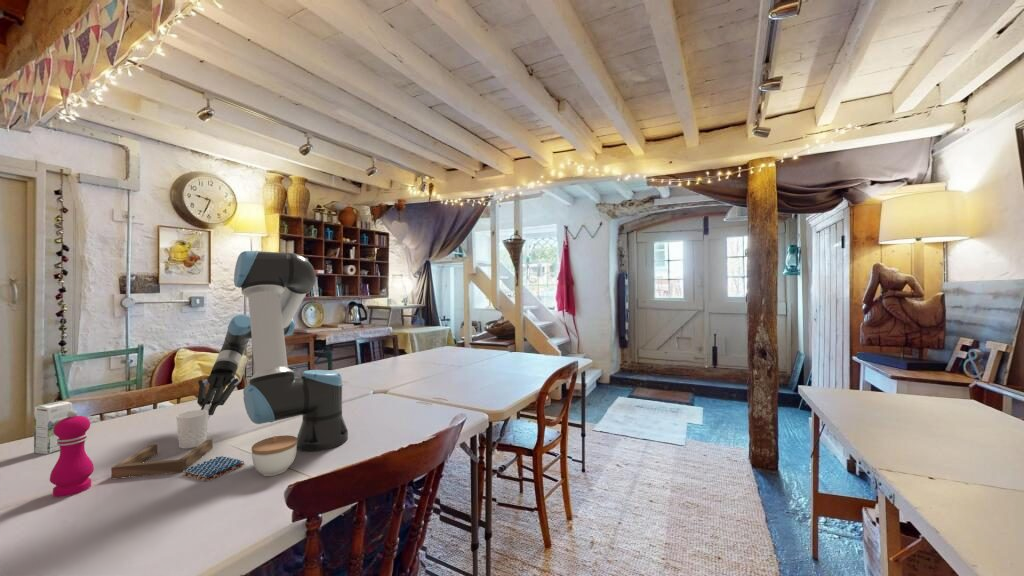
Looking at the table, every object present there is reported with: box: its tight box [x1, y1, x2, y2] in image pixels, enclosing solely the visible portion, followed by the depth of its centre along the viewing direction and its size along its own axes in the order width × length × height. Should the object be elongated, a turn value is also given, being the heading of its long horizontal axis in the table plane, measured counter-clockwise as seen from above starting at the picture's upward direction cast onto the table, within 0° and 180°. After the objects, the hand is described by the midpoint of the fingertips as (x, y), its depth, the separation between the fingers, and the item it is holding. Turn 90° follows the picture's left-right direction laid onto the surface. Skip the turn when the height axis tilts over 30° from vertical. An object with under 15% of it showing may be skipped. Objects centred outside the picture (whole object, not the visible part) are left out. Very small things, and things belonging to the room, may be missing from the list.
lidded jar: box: [251, 435, 298, 477], centre depth 105 cm, size 11×11×9 cm
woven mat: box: [182, 455, 246, 482], centre depth 105 cm, size 10×11×2 cm
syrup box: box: [33, 400, 73, 455], centre depth 119 cm, size 6×6×14 cm
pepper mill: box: [49, 409, 95, 498], centre depth 95 cm, size 7×7×20 cm
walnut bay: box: [110, 438, 214, 480], centre depth 110 cm, size 16×16×3 cm
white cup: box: [176, 409, 209, 450], centre depth 123 cm, size 8×8×10 cm
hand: (202, 423), depth 129 cm, fingers closed
